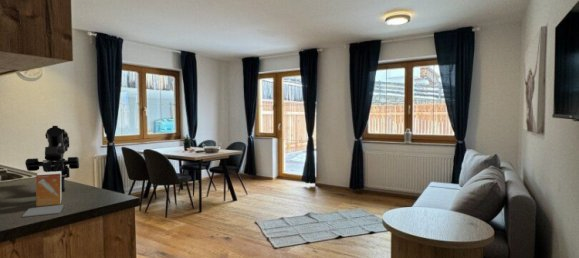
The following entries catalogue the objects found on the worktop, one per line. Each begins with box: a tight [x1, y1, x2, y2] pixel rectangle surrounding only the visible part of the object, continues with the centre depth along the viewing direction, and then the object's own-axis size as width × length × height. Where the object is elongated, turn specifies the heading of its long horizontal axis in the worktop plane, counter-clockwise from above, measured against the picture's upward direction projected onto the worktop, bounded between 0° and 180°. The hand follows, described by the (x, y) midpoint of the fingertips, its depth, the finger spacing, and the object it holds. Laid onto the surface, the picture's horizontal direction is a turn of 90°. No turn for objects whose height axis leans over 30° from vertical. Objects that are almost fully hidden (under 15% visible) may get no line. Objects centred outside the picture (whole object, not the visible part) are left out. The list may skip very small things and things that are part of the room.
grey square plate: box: [21, 204, 65, 218], centre depth 122 cm, size 11×11×1 cm
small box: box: [35, 171, 62, 207], centre depth 132 cm, size 8×6×13 cm
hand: (51, 179), depth 136 cm, fingers closed
